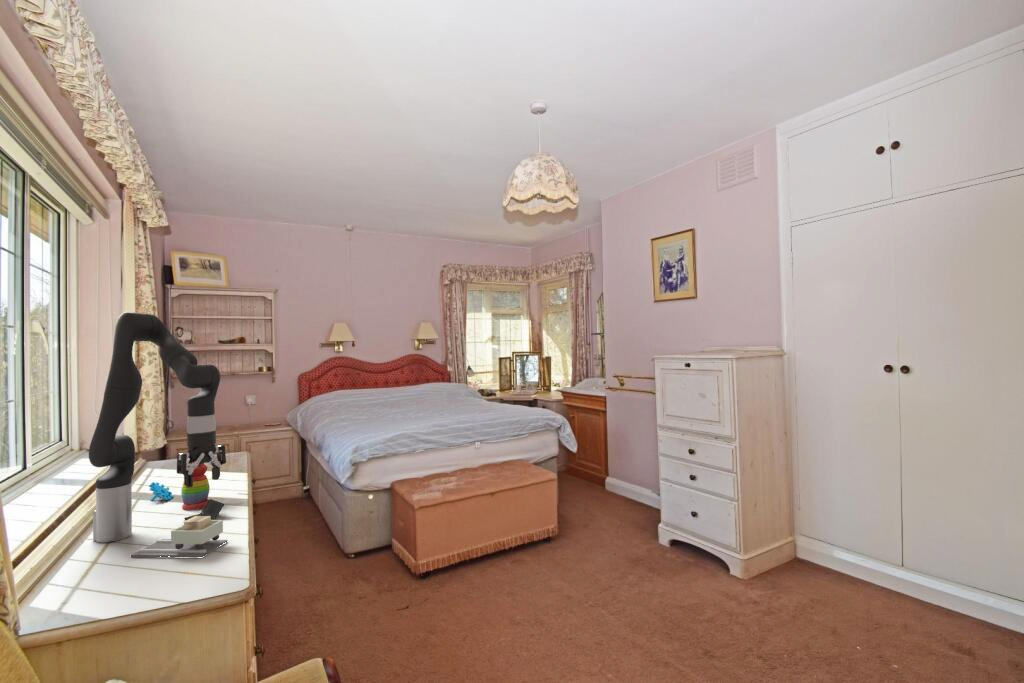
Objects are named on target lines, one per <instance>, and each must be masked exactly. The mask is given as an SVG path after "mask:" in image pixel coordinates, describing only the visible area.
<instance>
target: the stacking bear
mask: <svg viewBox="0 0 1024 683" xmlns="http://www.w3.org/2000/svg"><path fill="white" fill-rule="evenodd" d="M192 464H193V463H192ZM207 471H208V466H207V465H206V463H203V464H198V466H197V467H196V468H195V469H194V471H193V472H192V474H193V487H186V486H185V485H184V481H183V483H182V485H181V486H182V487H181V490H180V491H181V498H182V502H183V503H182V506H181V509H182V510H184V511H194V510H201V509H202V510H203V509H204V507H205V506H206V504H207V503H208V501H209V500H210V499H208V497H209V494H210V490H211V489H210V483H209V479H208V477H207V476H208V475H206V472H207Z"/></svg>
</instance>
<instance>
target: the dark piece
mask: <svg viewBox="0 0 1024 683" xmlns="http://www.w3.org/2000/svg"><path fill="white" fill-rule="evenodd" d="M208 500H209V501H208V503H207V504H206V506H205V507H204V508H202V510H201V512H200V513H198V514H193V515H189V516H185V517H184V519H185V520H184V521H186V520H188V519H190V518H192V517H194V516H211V520H216V519H217V517H218V515H219V514H220V512H221V511H222V509H223V508H224V507H225V503H224V502H223V503H222V502H220V501H218V500H214V499H212V498H210V499H208Z"/></svg>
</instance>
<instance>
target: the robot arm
mask: <svg viewBox="0 0 1024 683" xmlns="http://www.w3.org/2000/svg"><path fill="white" fill-rule="evenodd" d="M135 342H150V343H153V344H154V345H156V346H158V347H159V348H158V354H159V357H160V359H161V360H162V362H163V363H164V364H166V365H167V366H168V367H169V368H170V369H171V370H173V372H174V373H175V376H176V377H177V379H178V380H179V382H180V384H181V385H182V386H183V387H185V388H187V389H200V390H199V392H198V394H196V395H194V396H191V397H189V398H188V399H187V419H186V420H187V421H186V445H187V449H188V450H187V452H184V453H183V452H179V453H177V455H176V474H179V475H183V482H184V485H185V486H186V487H193V474H192V472H193V471H194V469H195V468H196V467H197V466H198V464H203V463H204V464H210V465H211V479H212V480H214V481H217V480H219V479H220V477H221V467H222V465H225V464H226V463H227V457H226V446H225V445H223V444H217V428H216V427H217V424H216V422H217V421H216V417H215V400H216V397H217V393H218V389H219V386H220V382H221V374H220V370H219V369H218V367H217V366H215V365H214V364H199V363H198V358H197V357H196V356H195V355H194V354H193V353H192V352H190V351H189V349H187V348H186V347H185V346H183V345H182V344H181V343H180V342H179V341H178V340H177V339H176V338H175V337H174V336H173V334H172V333H171V331H170V330H169V328H167V327H166V325H165V324H164V323H163V321H162V320H161V319H160V318H159V317H157V316H156V315H154V314H151V313H143V312H133V311H132V312H131V311H125V312H123V313H120V315H119V316H118V318H117V319H116V323H115V329H114V336H113V346H112V357H111V361H110V365H109V371H108V376H107V380H106V384H105V389H104V393H103V398H102V403H101V404H102V405H101V409H100V413H99V417H98V420H97V424H96V427H95V429H94V432H93V435H92V437H91V440H90V444H89V448H88V461H89V463H90V464H91V465H92V466H93V467H94V468H95V467H96V468H104V467H108V466H109V469H107V471H105V472H104V473H103V474H102V475H100V476H99V477H98V478H97V479H95V509H94V510H93V511H92V536H93V537H92V540H93V541H96V543H110V541H111V542H116V541H120V540H123V538H124V539H127V538H128V537H130V536H131V535H132V534H133V529H132V528H133V527H132V526H133V520H132V519H133V510H132V509H133V506H132V503H133V501H132V497H133V496H132V493H133V492H132V478H133V476H134V472H135V462H136V461H135V459H136V447H135V443H134V440H133V439H132V438H131V436H130V435H127V434H119V435H117V433H118V429H119V428H120V426H121V424H122V423H123V421H124V420H125V418H126V417H127V416H128V415H129V414H130V413H131V412H132V410H133V409H134V408H135V407H136V405H137V404H138V402H139V400H140V396H141V392H142V386H143V378H142V375H141V373H140V371H139V369H138V367H137V365H136V363H135V361H134V358H133V348H134V343H135ZM216 444H217V445H216ZM215 453H216V455H215ZM187 460H188V461H187ZM192 463H193V464H192Z"/></svg>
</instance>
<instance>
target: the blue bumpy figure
mask: <svg viewBox="0 0 1024 683" xmlns="http://www.w3.org/2000/svg"><path fill="white" fill-rule="evenodd" d="M148 487H149V491H151V492H152V495H153V497H151V499H150V502H153V501H154V500H156V498H159V499H161V498H162V500H163V501H166V500H167V501H170V500H172V499H173V497H174V496H173V493H172V491H170V487H169V486H167V487H165V485H164V484H163V483H162V484H161V485H160V483H159V482H154V481H152V482H151V484H149V485H148Z"/></svg>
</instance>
